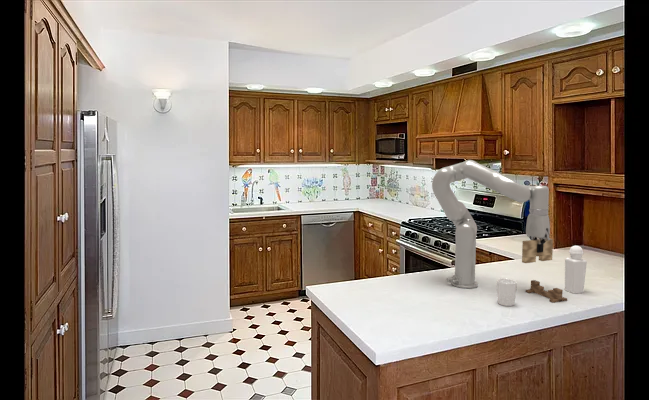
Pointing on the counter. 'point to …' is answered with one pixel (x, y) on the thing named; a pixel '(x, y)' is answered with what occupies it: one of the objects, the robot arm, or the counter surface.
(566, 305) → the counter surface
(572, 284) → the white tall bottle shape
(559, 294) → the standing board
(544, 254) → the slotted board
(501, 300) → the white cup
